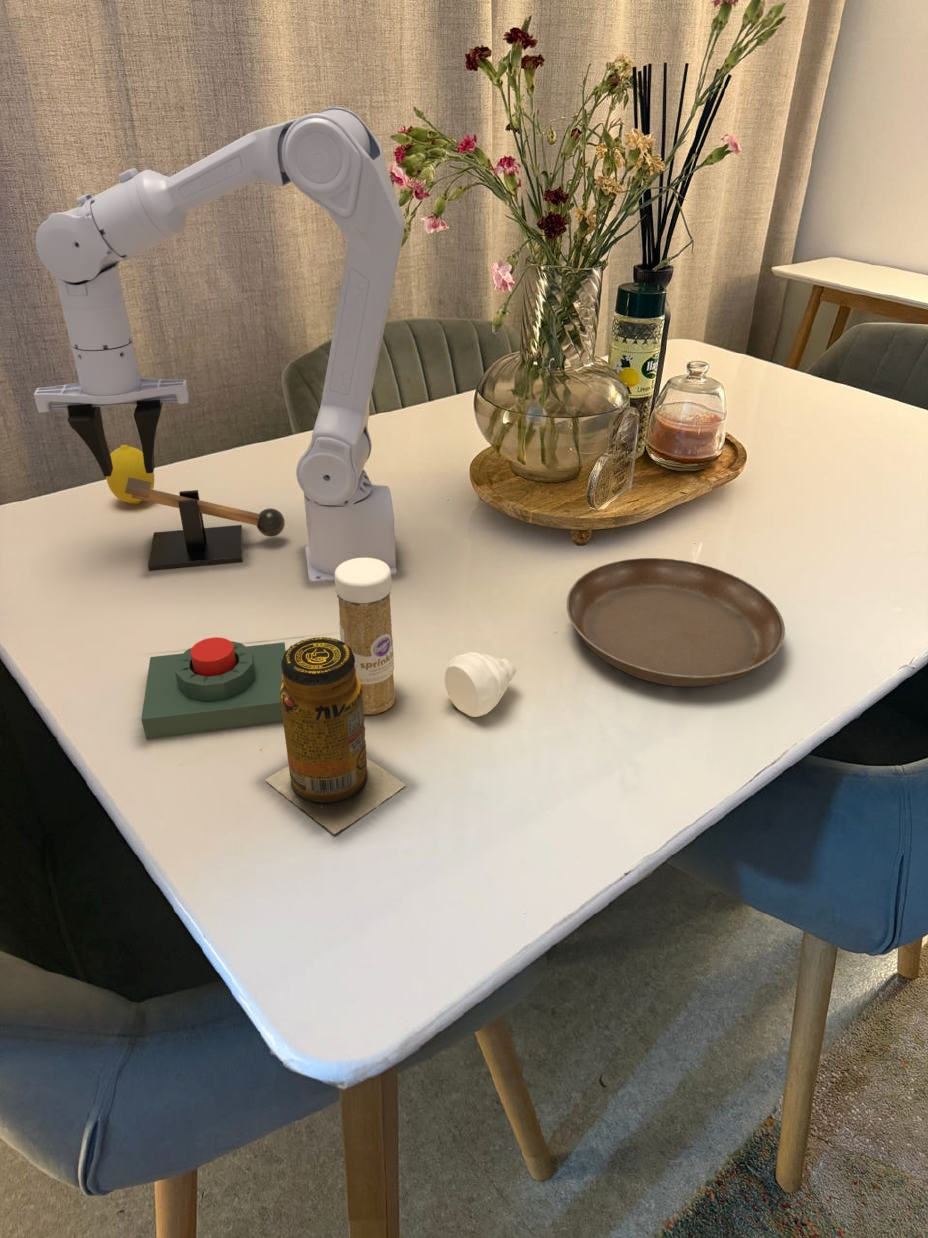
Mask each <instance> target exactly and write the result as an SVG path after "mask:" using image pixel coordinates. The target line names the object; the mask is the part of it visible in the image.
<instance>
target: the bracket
mask: <svg viewBox="0 0 928 1238" xmlns="http://www.w3.org/2000/svg"><path fill="white" fill-rule="evenodd" d="M178 495H179V496H183V497H187V498H191V499H194V500H181V501H178V505H179V508H178V510H179V515H180V521H181V526H182V529H177V530H167V531H155V532H153V535H152V540H151V547H150V553H149V559H148V564H147V567H148V572H154V571H155V572H157V571H166V570H175V569H186V568H198V567H208V566H209V567H210V566H217V565H218V566H221V565H229V564H240V563H241V564H242V563H243V562H244V557H243V556H244V555H243V554H244V553H243V551H244V548H243V545H244V544H243V542H244V541H243V525H242V524H235V525H225V526H223V525H222V526H212V527H205V523H204V517H203V513H199V507H198V501H197V500H200V501H201V499H200V493H199V490H198V489H195V490H194V489H193V490H181V491H179V493H178Z"/></svg>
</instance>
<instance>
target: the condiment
mask: <svg viewBox="0 0 928 1238" xmlns="http://www.w3.org/2000/svg"><path fill="white" fill-rule="evenodd" d="M354 663H355V656H354V654H353V652H352V650H351V648H350V647H349V646H348V645H347V644H345V643H344V642H342V641H341V640H339V639H337V638H332V637H327V636H326V637H325V636H318V637H317V636H316V637H311V638H305V639H301V640H300V641H298V642H296V643H294V644H293V645H290V647H288V649H287V650H286V652H285V654H284V656H283V659H282V661H281V668H282V681H283V684H282V686H281V689H280V700H281V708H282V716H283V722H282V724H283V731H284V738H285V745H286V747H285V748H286V755H287V762H288V763H287V765H288V766H286V767H284V768H282V769H279V771H277V772H275V773H273V774H272V775H270V776H268V777H267V778H265V782H267V783H268V784H269V785H270V786H271V787H273V788H274V789H275V790H276V791H277V792H278V793H280V794H282V795H283V796H284V798H286V799H287V800H289V801H290V802H291V803H293V804H294V805H295V806H296V807H298V808H299V809H301V810H303V811H304V812H305V813H306V814H307V815H308V816H309V817H310V818H312V819H313V820H315V822H317V823H319V824H320V825H321V826H323V827H325V828H326V829H327V830H328V831H329V832H330V833H332V834H333V835H336V834H337V833H339V832H340V831H342V830H344V829H346V828H347V827H349V826H351V825H352V824H353V823H355V822H356V821H358V820H359V819H361V818H362V817H364V816H366V815H367V814H368V813H370V812H371V811H372V810H374V809H376V808H378V807H379V806H380V805H381V804H382V803H384V802H385V801H387V800H388V799H389V798H391V797H392V796H394V795H395V794H396V793H398V792H399V791H400V790H401V789H403V788H405V787H406V786H407V785H406V784H405V783H404V782H402V781H401V780H400V779H398V778H397V777H395V776H394V775H392V774H391V773H390V772H389V771H387V770H385V769H384V768H382V767H381V766H380V765H378V764H377V763H375V762H373V761H372V760H370V759H368V757H367V754H368V753H367V744H366V743H367V742H366V726H365V714H363V712H364V709H363V697H362V693H363V691H362V685H361V683H360V680H359V678H358V677H357V675H356V668H355V664H354Z"/></svg>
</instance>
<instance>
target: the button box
mask: <svg viewBox="0 0 928 1238" xmlns="http://www.w3.org/2000/svg"><path fill="white" fill-rule="evenodd" d="M230 641H231V642H232V644H233V646H234V652H235V658H236V665H235V667H234V669H233V670H231V671H229V672H226V673H224V674H222V675H217V676H208V677H206V676H201V675H198V674H196V673H195V671H194V669H193V664H192V659H191V654H190V651H191V648H192V647H190V648H188V649H186V650H185V651H184V652H183V653H175V654H174V653H173V654H165V655H158V656H157V655H155V656H150V657H149V663H148V669H147V677H146V686H145V691H144V699H143V705H142V712H141V724H142V729H143V732H144V735H145V739H146V740H152V739H160V738H169V737H176V736H183V735H191V734H199V733H208V732H215V731H223V730H230V729H231V730H232V729H240V728H246V727H254V726H262V725H271V724H279V723H283V716H282V708H281V700H280V689H281V686H282V684H283V681H282V668H281V661H282V659H283V656H284V654H285V652H286V651H287V650H286V643H285V641H283V642H273V643H266V644H257V645H256V644H255V645H247V646H246V645H245V644H244V643H242V642H237V641H232V640H230Z"/></svg>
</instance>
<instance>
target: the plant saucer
mask: <svg viewBox="0 0 928 1238" xmlns="http://www.w3.org/2000/svg"><path fill="white" fill-rule="evenodd" d="M566 613H567V615H568V618H569V620H570V622H571V623H570V624H572V626H573V628H574V630H575V632H576V634H578V636H579V637H580V639H581V640H582V641H583V643H585V644H586V646H588V647H589V649H590V650H591V651H592V652H593V653H594V654H596V655H597V657H600V658H601V659H602V660H603V661H605V662H606V663H608V664H609V665H611V666H612V667H613V668H616V669H618V670H620V671H621V672H624V673H626V674H627V675H630V676H633V677H635V678H638V679H641V680H644V681H648V682H651V683H656V684H660V685H665V686H672V687H689V688H691V687H694V688H695V687H706V686H707V687H708V686H712V685H713V686H714V685H719V684H723V683H726V682H730V681H733V680H737V679H739V678H742V677H744V676H747V675H748V674H750V673H752V672H754V671H755V670H757V669H759V668H760V667H762V666H763V665H764V664H766V663H768V662H769V661H770V660H771V659H772V658H773V657H774V656H776V654H777V653H778V651H779V650H780V648H781V647H782V645H783V643H784V640H785V635H786V627H785V623H784V619H783V616H782V614H781V613H780V611H779V609H778V608H777V606H776V605H775V604H774V603H773V601H772V600H771V599H770V598H769V597H768V596H767V595H766V594H765V593H764V592H762V591H761V590H760V589H758V588H757V587H755V586H754V585H752V584H751V583H749V582H747V581H746V580H745V579H742V578H740V577H738V576H736V575H734V574H731V573H729V572H726V571H724V570H721V569H719V568H716V567H713V566H709V565H705V564H703V563H702V564H701V563H698V562H694V561H688V560H683V559H674V558H664V557H663V558H662V557H641V558H639V557H638V558H630V559H622V560H617V561H613V562H609V563H606V564H603V565H600V566H598V567H595V568H593V569H591V570H589V571H587V572H586V573H585V574H583V575H582V576H580V577H579V578H578V579H577V580H576V581H575V582H574V583H573V585H572V586H571V588H570V589H569V591H568V594H567V598H566Z"/></svg>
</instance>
